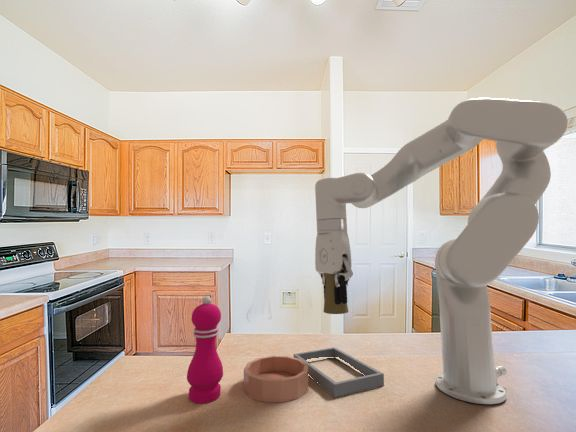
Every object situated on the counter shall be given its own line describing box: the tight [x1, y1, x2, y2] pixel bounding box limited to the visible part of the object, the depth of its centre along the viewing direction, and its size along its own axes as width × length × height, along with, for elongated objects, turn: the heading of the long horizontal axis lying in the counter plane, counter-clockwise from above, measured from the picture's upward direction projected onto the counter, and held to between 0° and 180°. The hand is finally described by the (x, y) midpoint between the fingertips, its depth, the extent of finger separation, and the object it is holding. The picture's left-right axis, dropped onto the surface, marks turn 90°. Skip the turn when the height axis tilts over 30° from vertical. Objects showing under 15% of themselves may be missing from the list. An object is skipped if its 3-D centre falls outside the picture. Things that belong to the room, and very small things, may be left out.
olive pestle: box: [323, 270, 350, 315], centre depth 74 cm, size 6×6×11 cm
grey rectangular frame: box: [292, 346, 385, 398], centre depth 72 cm, size 13×20×2 cm, turn 24°
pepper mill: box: [186, 295, 224, 405], centre depth 62 cm, size 7×7×20 cm
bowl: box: [243, 355, 309, 403], centre depth 66 cm, size 14×14×4 cm
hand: (335, 301), depth 73 cm, fingers closed on olive pestle, 4 cm apart
